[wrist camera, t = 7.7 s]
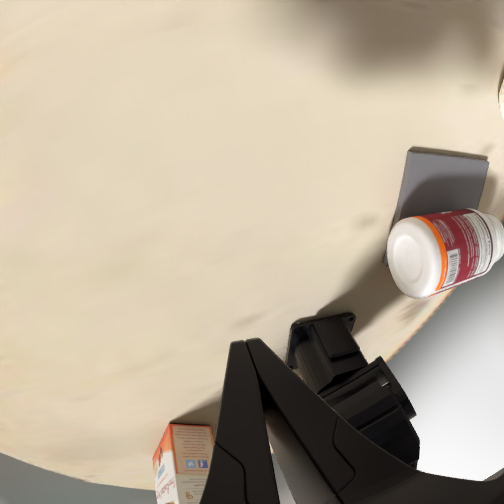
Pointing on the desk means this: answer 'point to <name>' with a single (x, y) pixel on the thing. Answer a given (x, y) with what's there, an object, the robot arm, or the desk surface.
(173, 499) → the cracker box
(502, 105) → the cat figurine
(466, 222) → the pill bottle
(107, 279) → the desk surface
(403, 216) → the mat
